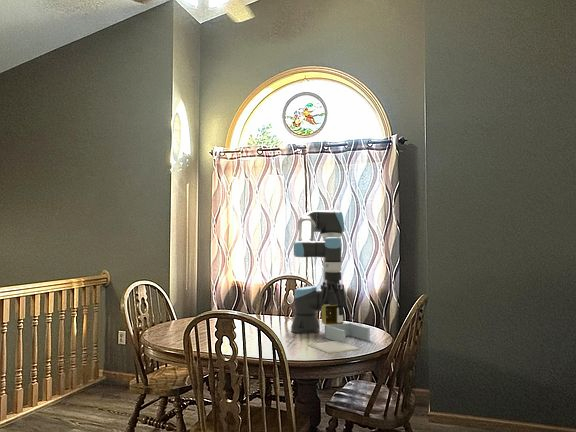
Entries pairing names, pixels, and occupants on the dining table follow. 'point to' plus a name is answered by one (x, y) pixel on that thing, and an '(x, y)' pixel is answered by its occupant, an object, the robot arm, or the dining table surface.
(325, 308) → the flower pot
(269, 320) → the dining table surface
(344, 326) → the shelf bay
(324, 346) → the tile
